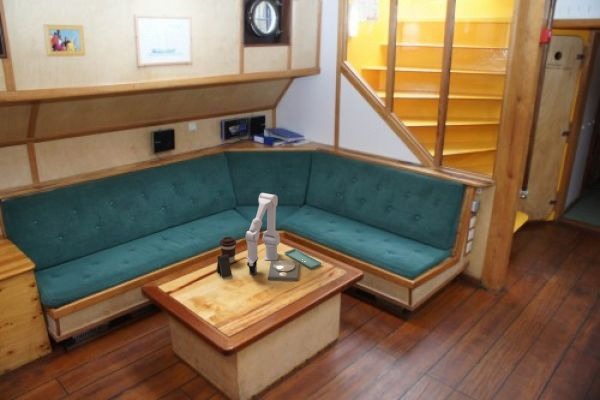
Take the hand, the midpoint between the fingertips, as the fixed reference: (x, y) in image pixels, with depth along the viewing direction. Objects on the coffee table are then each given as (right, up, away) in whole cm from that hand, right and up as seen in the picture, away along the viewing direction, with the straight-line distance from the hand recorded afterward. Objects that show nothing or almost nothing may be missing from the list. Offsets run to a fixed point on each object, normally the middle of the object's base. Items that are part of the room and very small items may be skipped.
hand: (253, 271), depth 288 cm
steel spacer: (0, -2, +1) cm, 2 cm away
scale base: (+18, -1, +3) cm, 18 cm away
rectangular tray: (+29, +4, +18) cm, 34 cm away
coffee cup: (-16, +4, +15) cm, 23 cm away
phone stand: (-17, -2, 0) cm, 17 cm away
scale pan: (+18, +2, +4) cm, 19 cm away
